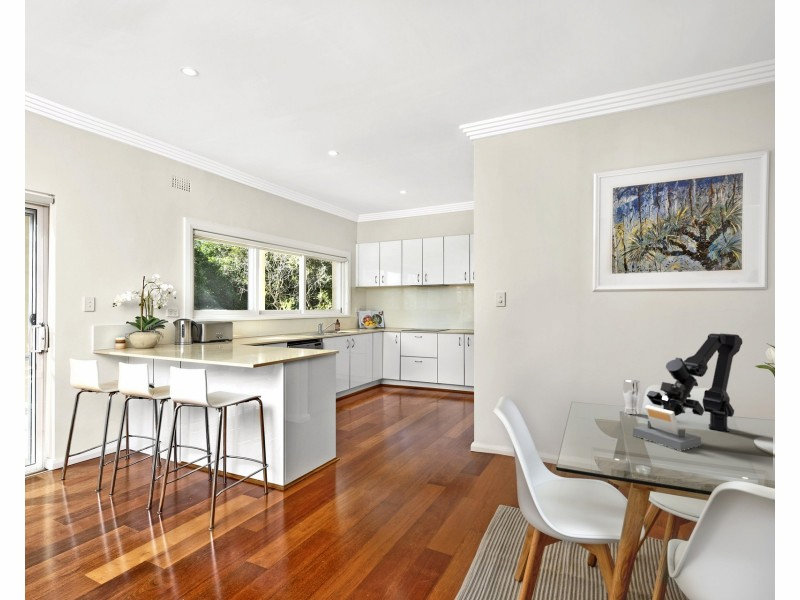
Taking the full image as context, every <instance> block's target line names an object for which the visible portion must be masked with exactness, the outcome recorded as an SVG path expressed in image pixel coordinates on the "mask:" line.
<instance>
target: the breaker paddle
mask: <svg viewBox="0 0 800 600" xmlns="http://www.w3.org/2000/svg"><path fill="white" fill-rule="evenodd" d="M644 409H645V411H646V414H647V418H648V421H650V424H651V427H653V428H657V429H660V430H664V431H667V432H670V433H674V434H677V435H678V434H679V429H680V427H679V423H678V421H677V418H676V416H675V414H674V412H673V411H669V410H665V409H663V408H660V407H657V406H653V405H648V404H647V405H645V407H644Z"/></svg>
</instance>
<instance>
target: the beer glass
mask: <svg viewBox="0 0 800 600" xmlns="http://www.w3.org/2000/svg"><path fill="white" fill-rule="evenodd" d="M622 384H623V385H622V391H623V392H622V395H623V399H624V400H623V401H624V410H623V413H624V412H627V413H634V414H638V413H639V414H640V411H639V401H640V397H641V383H640V381H639V380H636V379H623V383H622Z"/></svg>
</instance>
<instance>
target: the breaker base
mask: <svg viewBox="0 0 800 600" xmlns="http://www.w3.org/2000/svg"><path fill="white" fill-rule="evenodd" d="M633 435H636V436H639V437H642V438H645V439H648V440H651V441H654V442H657V443H660V444H663V445H666V446H669V447H672V448H675V449H678V450H684V449H688V448H692V449H694V448H693V447H695V448H698V446H699V447H701V446H702V437H701V436H697V435H695V434H691V433H687V432H686V429H685V428H679V434H678V435H677V434H674V433H670V432H667V431H664V430H660V429H657V428H653V427H651V424H650V421H649V420H647V424H645V425H640V426H639V425H638V426H634V427H632V436H633ZM672 448H671V449H672ZM675 449H674V450H675ZM678 450H677V451H678ZM688 450H689V449H688ZM684 451H685V450H684Z"/></svg>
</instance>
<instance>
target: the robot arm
mask: <svg viewBox="0 0 800 600" xmlns="http://www.w3.org/2000/svg"><path fill="white" fill-rule="evenodd" d="M742 344H743V338H742V337H741V336H740V335H738V334H732V333H721V332H720V333H709V334H708V335H707V338H706V339H705V340H704V342H703V343H702V345H701V346H700V347H699V348H698V350H697V351H696V353H694V355H691V356H689V357H687V358H685V360H683V358H681V357H675V359H672V360H670V361H668V362H667V363H666V365H665V369H666V370H667V372H668V373H669V374H670V376H671V377H672V378H673V379H674V380H676V381H675V383H670V382H664V381H662V382H661V385H660V388H659V390H660V391H662V392H664V395H662V393H661V392H659V391H654V390H649V391H648V392H647V394H646V396H647V397H646V398H648V400H649V401H650V402H651V403H652V404H653V405H654V406H659V407H661V406H663V408H662V409H665V410H669V411H673V412H674V414H675V417H676V416H679V415H682V414H686V411H685V410H686V409H691V412H692V414H694V415H696V416H703V414H704V412H705V413H709V423H708V429H709V430H712V431H713V430H715V431H722V432H730V429H729V426H728V417H734V415H735V409H734V408H733V406H732V405H731V404H730V402H731V401H730V400H731V399H730V396H729V394H728V392H727V388H728V384H729V378H730V374H731V373H730V372H731V368H732V363H733V359H734V356H735V355H737V353H739V352H740V350H741V347H742ZM716 352H717V353H718V354H717V358H716V365H715V368H714V374H713V379H712V384H711V387H710V388H709V389H705V390H704V392H703V393H704V394H703V397H702V404H701V403H700V401H699V400H697V399H693V398H692V399H691V397H692V394H691V392H692V390H693V389H694V386H695V387H699V383H698V380H697V379H696V378H695V377H698V378H699V377H700V378H702V377H704V376H705V374H706V373H707V371H708V369H709V367H708V363H709V361H710V360H711V359H712V357H713V356H714V355H715V354H716Z"/></svg>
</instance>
